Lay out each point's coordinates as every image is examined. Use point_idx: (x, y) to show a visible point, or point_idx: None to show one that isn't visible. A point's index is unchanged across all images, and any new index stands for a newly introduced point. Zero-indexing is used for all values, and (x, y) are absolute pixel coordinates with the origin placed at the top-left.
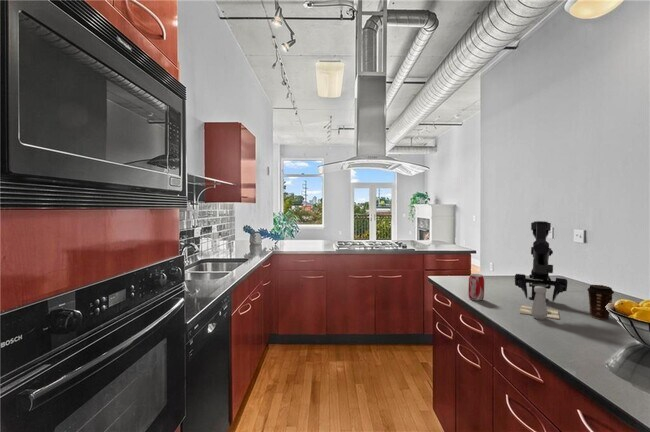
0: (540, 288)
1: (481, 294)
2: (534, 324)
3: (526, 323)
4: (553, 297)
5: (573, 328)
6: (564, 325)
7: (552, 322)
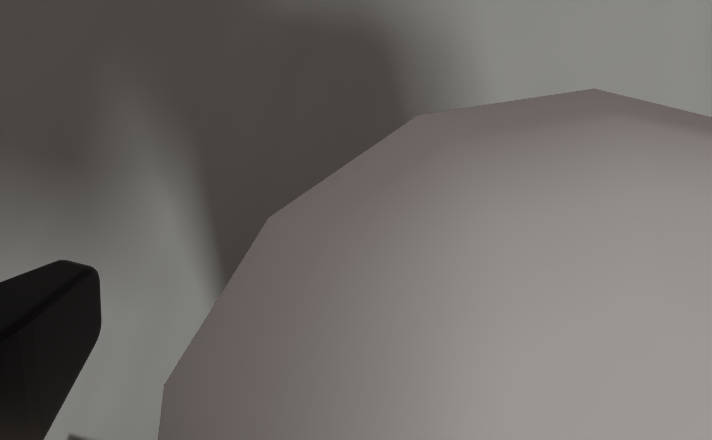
0: (655, 120)
1: None
2: (555, 39)
3: (661, 47)
4: (4, 306)
5: (56, 40)
6: (127, 138)
7: (258, 233)
